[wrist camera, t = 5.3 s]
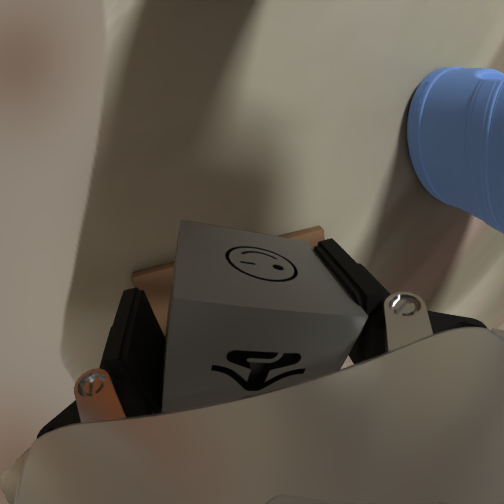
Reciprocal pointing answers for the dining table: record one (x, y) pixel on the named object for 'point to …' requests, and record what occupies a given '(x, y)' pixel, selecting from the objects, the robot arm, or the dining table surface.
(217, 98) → the dining table surface
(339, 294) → the dice cube
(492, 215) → the water jug
